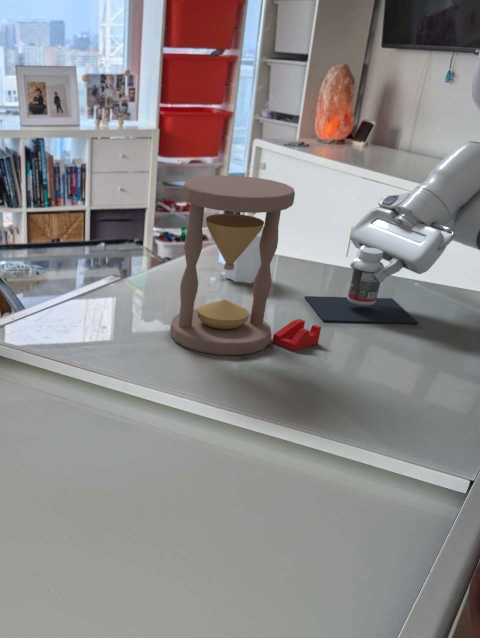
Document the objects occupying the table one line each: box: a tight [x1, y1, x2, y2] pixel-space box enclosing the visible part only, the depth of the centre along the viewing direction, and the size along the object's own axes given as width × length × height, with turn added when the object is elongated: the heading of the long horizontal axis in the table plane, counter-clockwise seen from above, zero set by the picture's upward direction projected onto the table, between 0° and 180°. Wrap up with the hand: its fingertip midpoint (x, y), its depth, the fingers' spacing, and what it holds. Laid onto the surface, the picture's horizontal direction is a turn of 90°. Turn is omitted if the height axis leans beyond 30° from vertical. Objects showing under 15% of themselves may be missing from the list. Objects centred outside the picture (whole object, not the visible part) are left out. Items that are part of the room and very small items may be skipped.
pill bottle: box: [347, 248, 385, 305], centre depth 145 cm, size 5×5×10 cm
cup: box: [224, 225, 264, 284], centre depth 161 cm, size 10×10×10 cm
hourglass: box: [169, 175, 296, 356], centre depth 127 cm, size 18×18×25 cm
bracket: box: [272, 318, 322, 352], centre depth 132 cm, size 6×5×3 cm
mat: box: [304, 295, 419, 325], centre depth 148 cm, size 18×14×1 cm
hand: (364, 273), depth 144 cm, fingers closed on pill bottle, 5 cm apart
